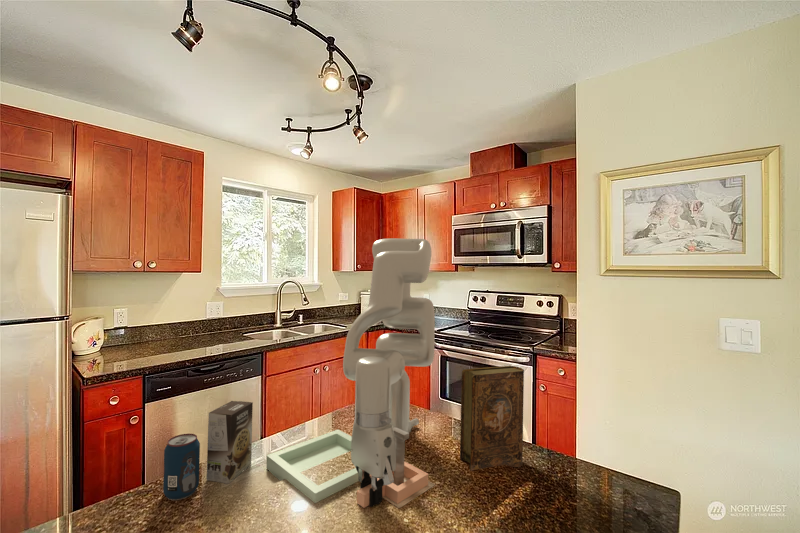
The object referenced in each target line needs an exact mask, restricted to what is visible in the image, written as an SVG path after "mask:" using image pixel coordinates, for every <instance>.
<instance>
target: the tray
mask: <svg viewBox="0 0 800 533" xmlns="http://www.w3.org/2000/svg"><path fill="white" fill-rule="evenodd" d="M351 439H352V435H350V434H348V433H346V432H345V431H343V430H340V429H335V430H332V431H330V432H329V431H328V433H327V432H326V433H325V434H322V435H319V436H315V437H314V438H311V439H308V440H305V441H302V442H300V443H299V442H298V443H297V444H293V445H292V446H289V447H285V448H283V449H281V450H278V451H275V452H272V453H270V454H267V455H266V468H267V469H268V470H269V471H270V472H271V473H272V474H271V473H270V472H269V471H268V470H267V469H266V468H265V469H266V470H267V471H268V472H269V473H270V474H271V475H273V476H274V478H276V479H277V478H278V479H277V480H279V481H280V482H282V481H284V480H286V481H288V483H289V484H291V485H292V486H294V488H296V489H297V490H298V491H299V492H301V493H302V494H303V495H305V496H306V497H307V498H308V499H309V500H310V501H312V502H313V503H314V504H316V503H318V502H320V501H322V500H324V499H326V498H329V497H330V496H332V495H334V494H336V493H338V492H340V491H342V490H344V489H345V488H347V487H350V486H351V485H353V484H356V483H357V482H360V481H359V479H358V472H357V470H356V467H355V468H352V469H349V470H347V471H345V472H344V473H342V474H339V475H337V476H335V477H333V478H331V479H329V480H327V481H325V482H323V483H321V484H317V483H316V482H314V481H313V480H311V479H310V478H308V477H307V476H306V475H305V474H303V472H304V471H308V470H310V469H312V468H314V467H316V466H319V465H321V464H324V463H326V462H328V461H330V460H333V459H335V458H337V457H339V456H342V455H345V454H347V453H349V452H351Z"/></svg>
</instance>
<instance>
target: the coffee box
mask: <svg viewBox="0 0 800 533" xmlns="http://www.w3.org/2000/svg"><path fill="white" fill-rule="evenodd" d="M253 403H254V402H253V401H244V400H243V401H241V400H239V401H238V400H230V401H229V402H227V403H225V404H223V405H221V406H219V407H217V408H215V409H213V410H211V411H210V412H208V422H207V423H208V425H207V427H208V428H207V449H206V450H207V452H206V453H207V454H206V456H207V457H206V458H207V459H206V481H209V482H210V481H211V482H217V483H223V484H230V483H232V481H234V480H235V479H236V478H238V476H240V474H242V473H243V472H244V471H245V470H247V467H248V466H249V465H250V464H251V465H252V444H253ZM251 465H250V466H251ZM250 466H249V467H250ZM249 467H248V468H249ZM243 470H244V471H243ZM242 471H243V472H242ZM241 472H242V473H241ZM235 477H236V478H235ZM234 478H235V479H234ZM229 482H230V483H229Z"/></svg>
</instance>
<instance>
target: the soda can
mask: <svg viewBox="0 0 800 533" xmlns="http://www.w3.org/2000/svg"><path fill="white" fill-rule="evenodd" d="M200 448H201V443H200V440H198V436H197V434H195V433H181V434H178V435H175V436H172V437H171V438H169V439H168V440H167V444H166V445H165V447H164V450H163V483H162V484H163V486H162V488H163V489H162V490H163V491H162V493H163V494H164V496H165V497H166V498H167V499H168V500H171V501H180V500H184V499H186V498H188V497H190V496H192V495H194V493H195V492H196V491H197V489H198V487H199V485H200V458H201V457H200V456H201V455H200V454H201V453H200V452H201V450H200Z"/></svg>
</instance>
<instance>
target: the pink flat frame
mask: <svg viewBox="0 0 800 533" xmlns="http://www.w3.org/2000/svg"><path fill="white" fill-rule="evenodd" d="M392 474H393V475H394V471H392ZM371 477H372V475H371ZM371 477H370V478H371ZM404 477H406V478H408V479H409V480H407V481H406V482H404V483H402V484H400V485H399V486H397V485H395V484H394V483H391V484H390V485H384V486H382V498H383V497H384V496H386V497H388V498H389V499H391V500H392V501H394V502H396V503H397V504H398V503H400V502H401V501H403V500H404V499H406V498H408V497H409V496H411V495H413V494H414V493H416V492H417V491H419V490H421V489H422V488H424V487H425V486H427V485H428V481H429V473H427V472H426V471H423V470H422V469H420V468H418V467H416V466H414V465H412V464H410V463H409V462H407V461H405V460H404ZM378 480H379V478H377V481H378ZM371 488H372V484H370V485H368V486H366V487H364V488H361V489H360V488H359V489H358V490H356V503H357V504H358V505H359V506H360V507H362V508H363V509H365V508H367V507H368V506H369V498H370V493H369V490H370V489H371Z"/></svg>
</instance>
